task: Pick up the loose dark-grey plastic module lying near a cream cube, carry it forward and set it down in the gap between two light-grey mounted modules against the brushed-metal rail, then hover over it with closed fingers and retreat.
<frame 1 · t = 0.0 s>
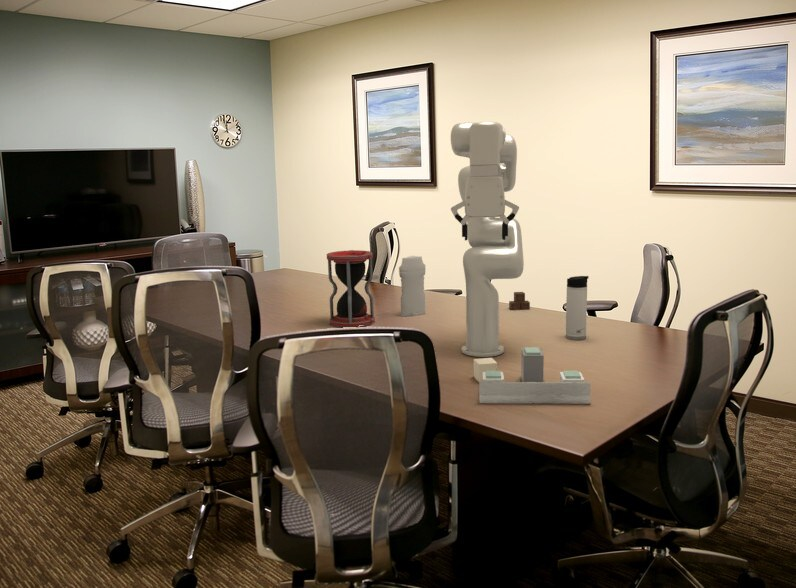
hand: (484, 239, 188), 37 cm above the table, tool pointing down, fingers open, 9 cm apart
tall pale column: (413, 315, 269), on the table
cream cube: (485, 379, 193), on the table
dark brown stepped block: (518, 310, 276), on the table
rail: (534, 402, 174), on the table
hourglass: (352, 323, 259), on the table
mounted modules: (532, 395, 179), on the table
module: (532, 381, 190), on the table
travel mug: (576, 338, 231), on the table
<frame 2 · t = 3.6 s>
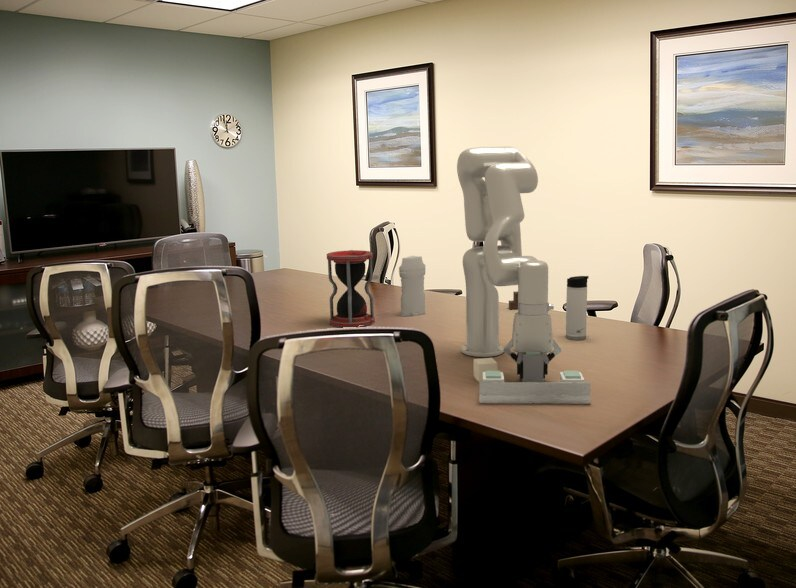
hand: (532, 376, 189), 1 cm above the table, tool pointing down, fingers closed on module, 5 cm apart
module: (532, 381, 190), on the table, touching gripper
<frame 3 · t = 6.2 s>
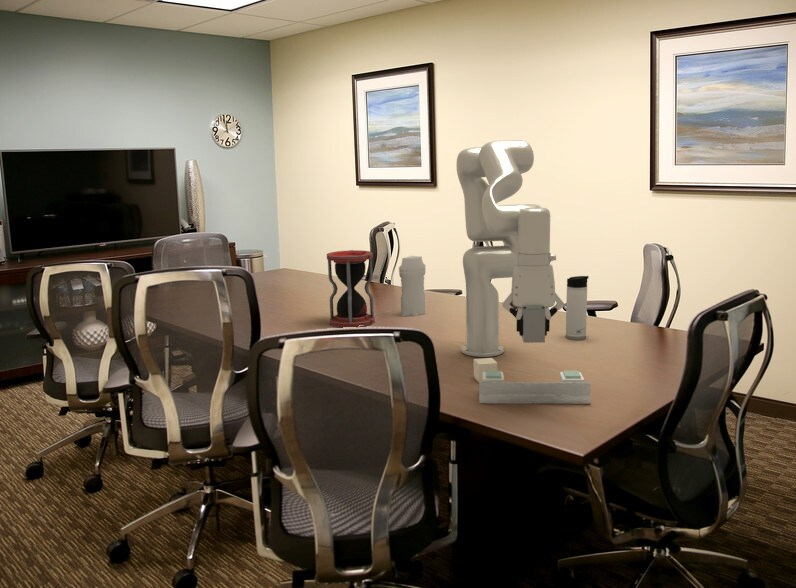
hand: (532, 333, 176), 16 cm above the table, tool pointing down, fingers closed on module, 5 cm apart
module: (532, 338, 176), point 14 cm above the table, touching gripper
when the fingers open (3 cm above the table, at t = 8.7 s): module drops 2 cm, on the table.
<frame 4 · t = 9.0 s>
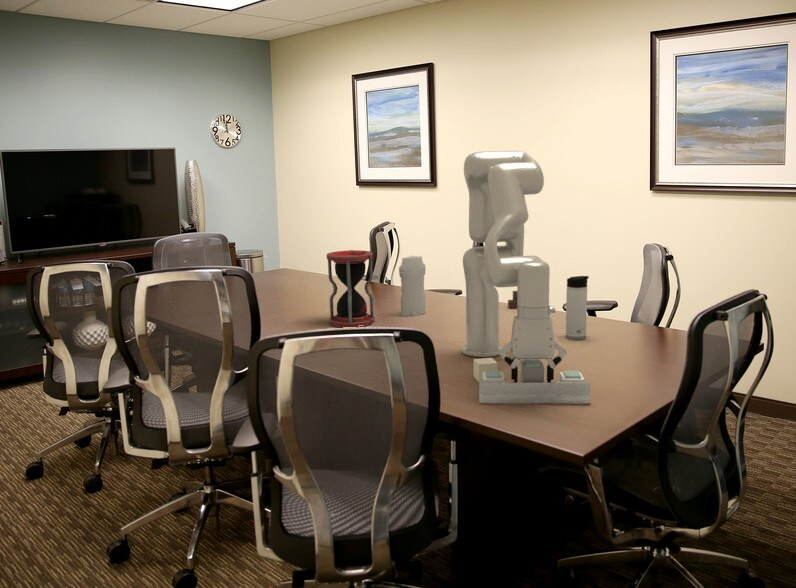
hand: (532, 382, 178), 3 cm above the table, tool pointing down, fingers open, 7 cm apart
module: (532, 395, 179), on the table
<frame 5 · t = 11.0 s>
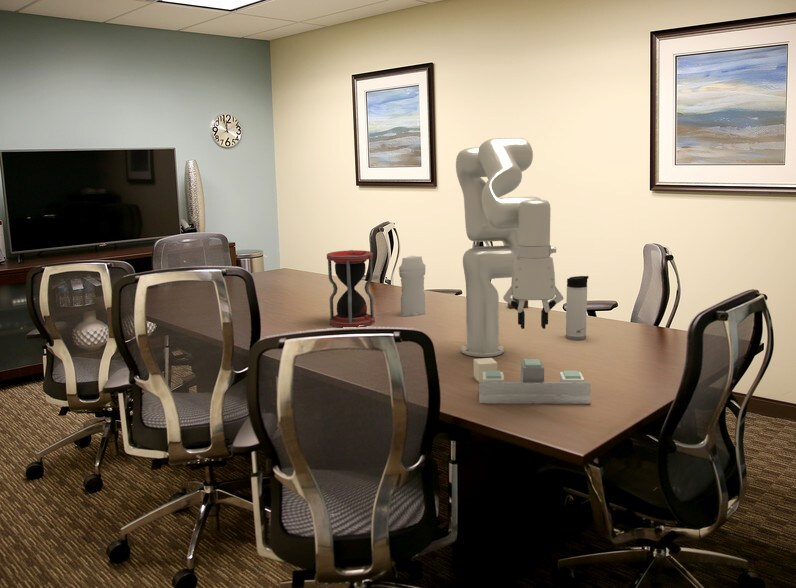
hand: (532, 326, 176), 17 cm above the table, tool pointing down, fingers open, 4 cm apart
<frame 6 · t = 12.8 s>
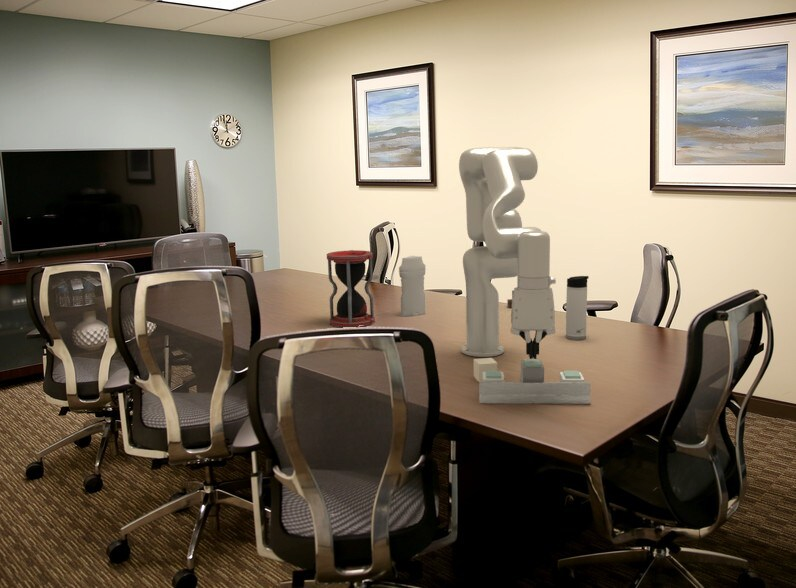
hand: (532, 357, 177), 10 cm above the table, tool pointing down, fingers closed
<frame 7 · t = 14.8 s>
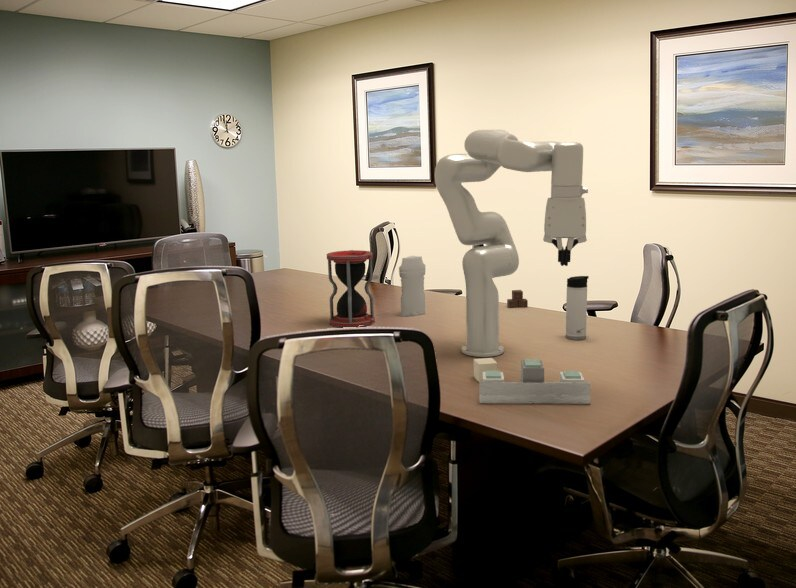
hand: (563, 264, 186), 30 cm above the table, tool pointing down, fingers closed
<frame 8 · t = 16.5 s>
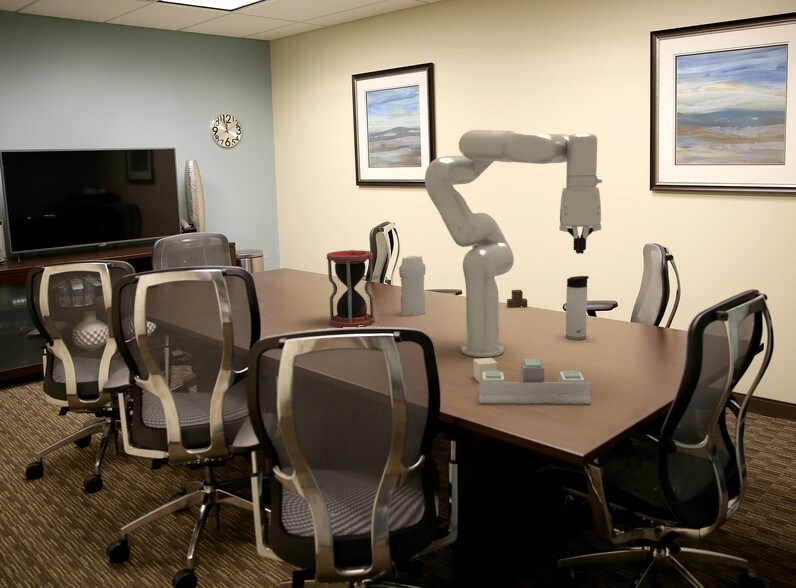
hand: (579, 252, 192), 32 cm above the table, tool pointing down, fingers closed
at the end: module inside the target area (0.4 cm from its centre), on the table; module tilted 0°; the gripper is holding nothing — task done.
